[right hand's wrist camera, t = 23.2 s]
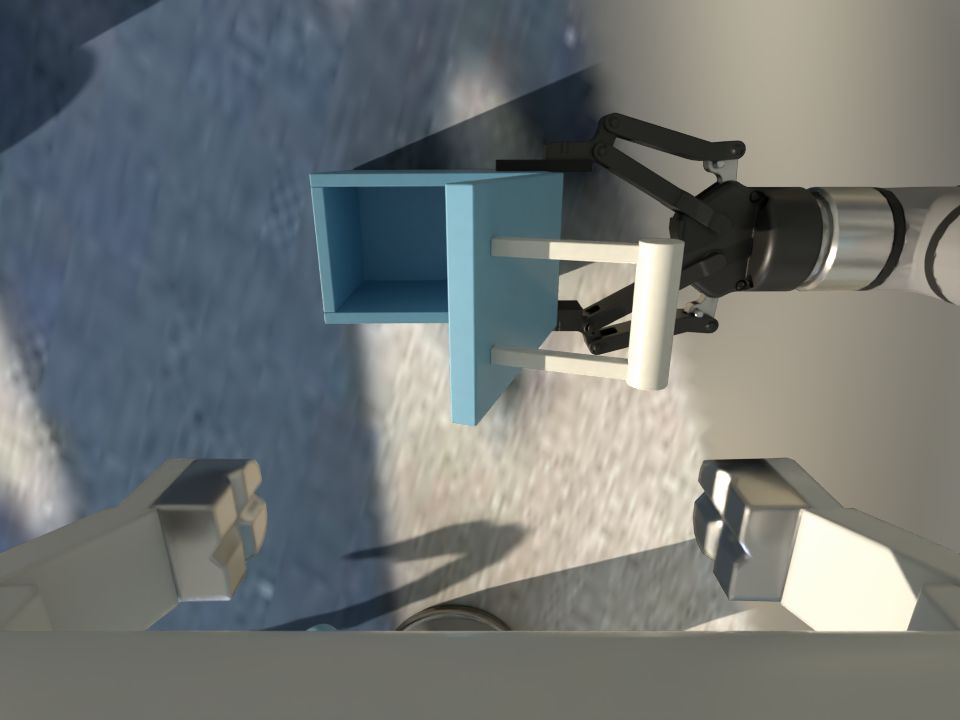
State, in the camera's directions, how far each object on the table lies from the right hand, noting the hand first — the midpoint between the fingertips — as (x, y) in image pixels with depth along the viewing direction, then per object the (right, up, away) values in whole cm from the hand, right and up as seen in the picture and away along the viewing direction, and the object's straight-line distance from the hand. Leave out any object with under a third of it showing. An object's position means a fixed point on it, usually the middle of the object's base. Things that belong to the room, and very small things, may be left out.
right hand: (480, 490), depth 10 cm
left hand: (+1, +11, +31) cm, 33 cm away
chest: (-3, +13, +37) cm, 39 cm away
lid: (+1, +7, +19) cm, 20 cm away
